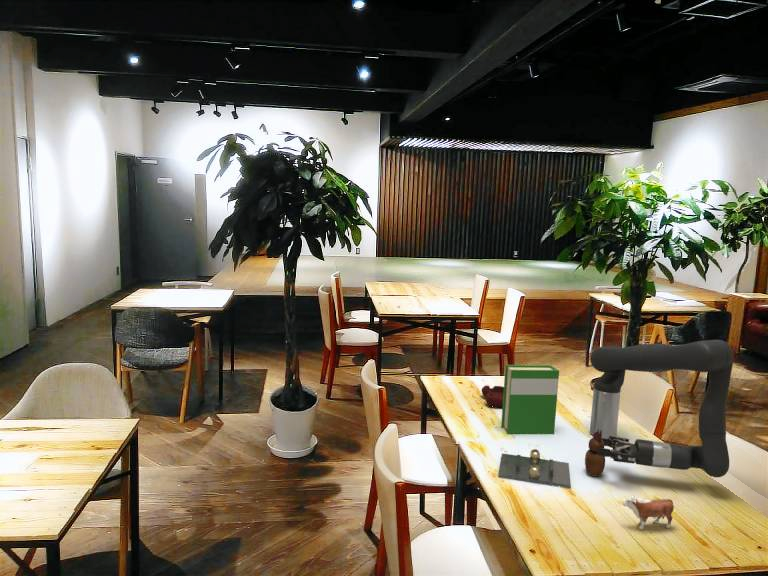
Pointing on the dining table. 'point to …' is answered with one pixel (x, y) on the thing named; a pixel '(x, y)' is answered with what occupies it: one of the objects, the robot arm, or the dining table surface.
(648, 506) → the bull figurine
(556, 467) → the metal mounting plate
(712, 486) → the dining table surface
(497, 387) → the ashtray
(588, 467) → the wooden figurine
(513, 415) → the hardback book
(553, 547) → the dining table surface
